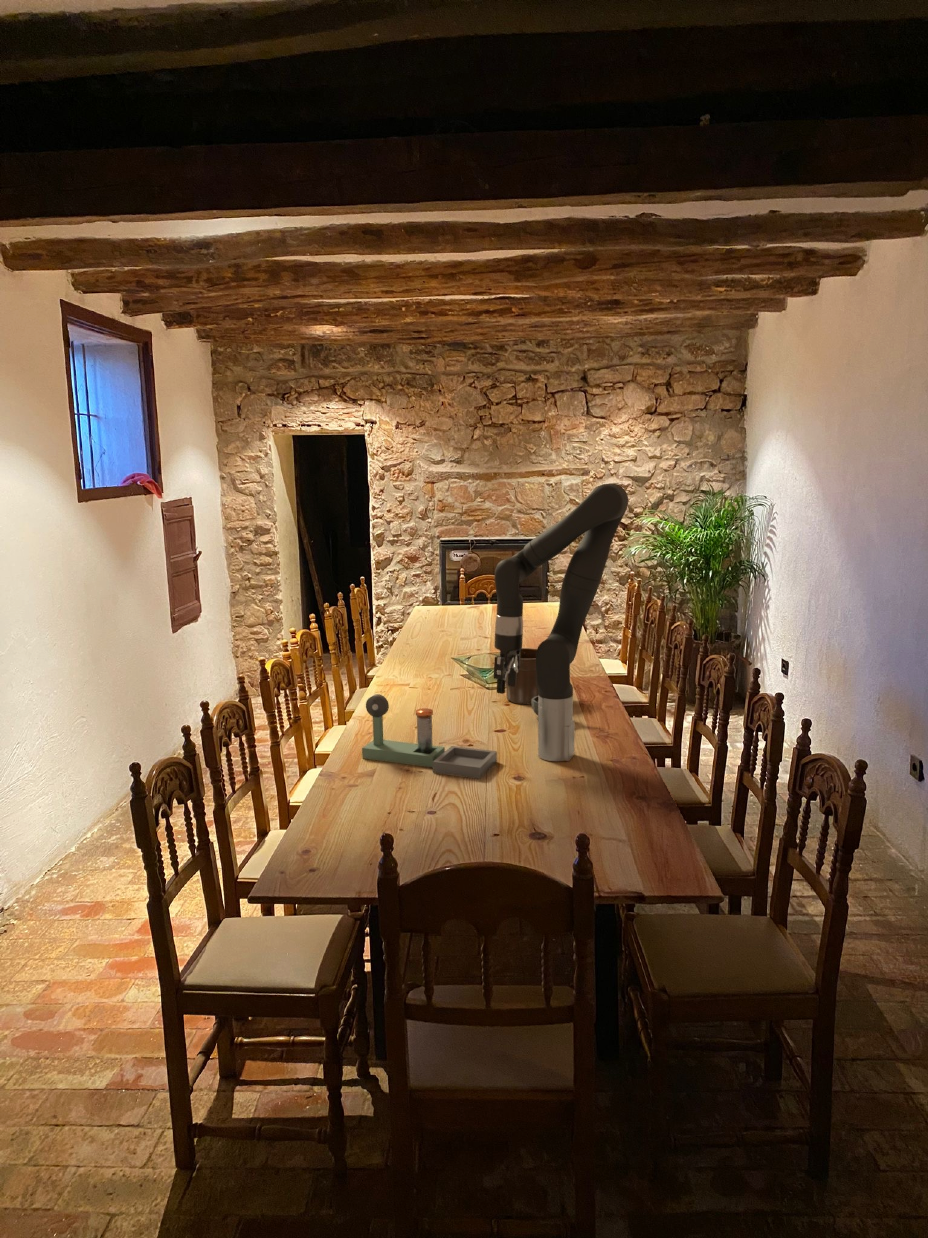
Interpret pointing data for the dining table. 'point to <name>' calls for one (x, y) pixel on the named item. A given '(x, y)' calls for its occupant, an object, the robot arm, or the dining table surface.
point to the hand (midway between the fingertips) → (506, 689)
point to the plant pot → (524, 679)
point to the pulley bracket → (393, 749)
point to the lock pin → (424, 730)
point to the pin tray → (465, 762)
